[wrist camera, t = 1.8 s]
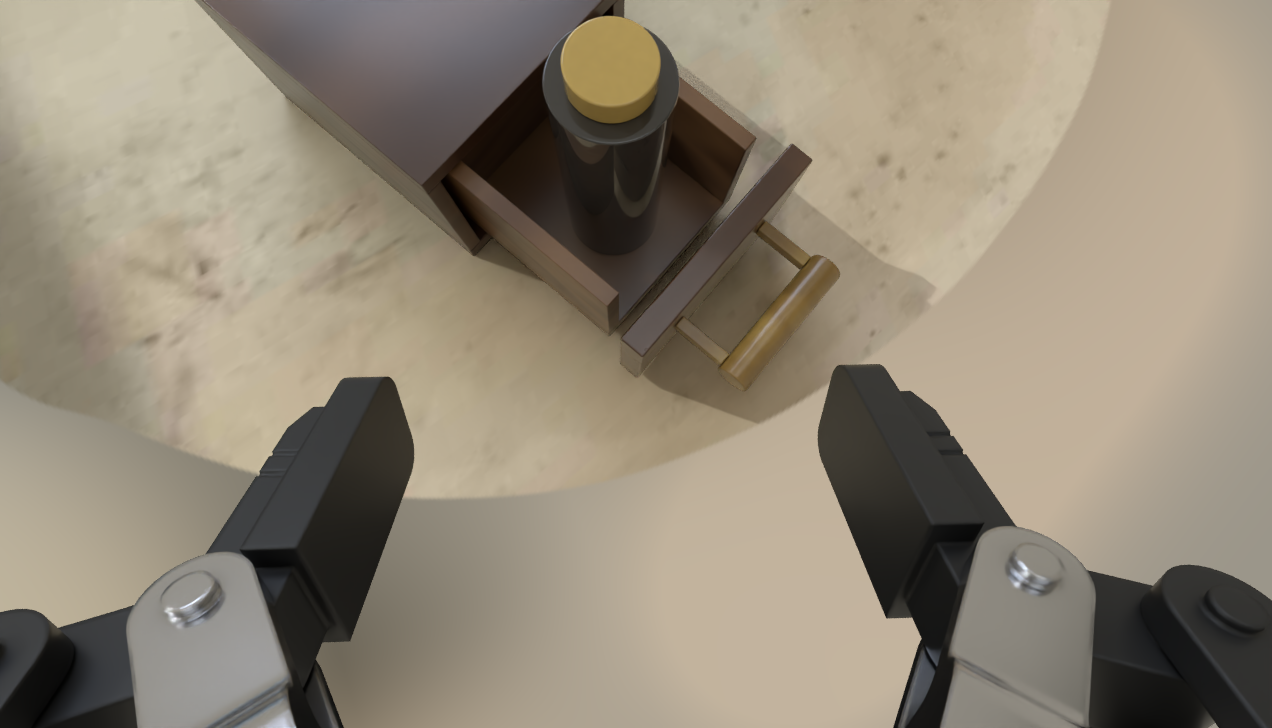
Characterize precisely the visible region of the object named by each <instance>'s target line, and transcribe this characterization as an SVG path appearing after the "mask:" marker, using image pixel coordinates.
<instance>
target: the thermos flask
mask: <svg viewBox="0 0 1272 728" xmlns="http://www.w3.org/2000/svg"><path fill="white" fill-rule="evenodd" d="M542 86H543V93H544V98H545V103H546V108H547V112H548V117H549V122H550V127H551V131H552V136H553V141H554V146H555V150H556V155H557V160H558V165H559V169H560V174H561V179H562V184H563V188H564V193H565V198H566V203H567V207H568V212H569V217H570V222H571V225H572V228H573V230H574V232H575V234H576V236H577V237H578V238H579V240H580V241H581V242H582V243H583V244H584V245H586V246H587V247H588V248H590V249H592V250H594V251H596V252H598V253H601V254H605V255H622V254H626V253H630V252H632V251H634V250H636V249H638V248H639V247H641V246H642V245H643V244H644V243H645V242H646V241H647V240H648V239H649V238H650V237H651V235H652V233H653V232H654V229H655V227H656V223H657V218H658V212H659V206H660V201H661V195H662V189H663V183H664V177H665V171H666V165H667V159H668V153H669V148H670V142H671V136H672V130H673V124H674V118H675V112H676V106H677V100H678V95H679V73H678V68H677V65H676V62H675V60H674V58H673V56H672V54H671V52H670V51H669V49H668V48H667V46H666V45H665V44H664V43H663V42H662V40H660V39H659V38H658V37H657V36H656V35H655V34H653V33H652V32H651V31H649V30H648V29H646V28H644V27H642V26H640V25H639V24H637V23H636V22H634V21H632V20H629V19H626V18H622V17H617V16H603V17H597V18H594V19H591V20H588V21H586V22H584V23H583V24H581V25H580V26H578V27H576V28H574V29H573V30H571V31H570V32H568V33H567V34H566V35H564V36H563V37H562V38H561V39H560V40H559V41H558V42H557V43H556V45H555V46H554V47H553V49H552V50H551V52H550V54H549V56H548V58H547V60H546V63H545V66H544V71H543V78H542Z"/></svg>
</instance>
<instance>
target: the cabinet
mask: <svg viewBox="0 0 1272 728" xmlns="http://www.w3.org/2000/svg"><path fill="white" fill-rule="evenodd" d="M195 1H196V2H197V3H198V4H199V5H200V6H201V7H202V8H203V10H204V11H205V12H206V13H207V14H208V15H209V16H210V17H211V18H212V19H213V20H214V21H215V22H216V23H217V24H218V25H219V27H220V28H221V29H222V30H223V31H224V32H225V33H226V34H227V35H228V36H229V37H230V38H231V39H232V40H233V41H234V42H235V43H236V45H237V46H238V47H239V48H240V49H241V50H242V51H243V52H244V53H245V54H246V55H247V56H248V57H249V58H250V59H251V60H252V61H253V63H254V64H255V65H256V66H257V67H258V68H259V69H260V70H261V71H262V72H263V73H264V74H265V75H266V76H267V77H268V78H269V79H270V81H271V82H272V83H273V84H274V85H275V86H276V87H277V88H278V89H279V90H280V91H281V92H282V93H283V94H284V95H285V96H286V97H287V98H288V99H290V100H291V101H292V102H293V103H294V104H295V105H297V106H298V107H299V108H300V109H301V110H302V111H304V112H305V113H306V114H307V115H308V116H309V117H311V118H312V119H313V120H314V121H315V122H317V123H318V124H319V125H320V126H321V127H322V128H324V129H325V130H326V131H327V132H328V133H329V134H331V135H332V136H333V137H334V138H335V139H337V140H338V141H339V142H340V143H341V144H342V145H344V146H345V147H346V148H347V149H348V150H349V151H351V152H352V153H353V154H354V155H355V156H356V157H358V158H359V159H360V160H361V161H362V162H364V163H365V164H366V165H367V166H368V167H369V168H371V169H372V170H373V171H374V172H375V173H376V174H378V175H379V176H380V177H381V178H382V179H384V180H385V181H386V182H387V183H388V184H389V185H391V186H392V187H393V188H394V189H395V190H396V191H398V192H399V193H400V194H401V195H402V196H404V197H405V198H406V199H407V200H408V201H409V202H411V203H412V204H413V205H414V206H415V207H416V208H418V209H419V210H420V211H421V212H422V213H423V214H425V215H426V216H427V217H428V218H429V219H431V220H432V221H433V222H434V223H435V224H436V225H438V226H439V227H440V228H441V229H442V230H443V231H445V232H446V233H447V234H448V235H449V236H451V237H452V238H453V239H454V240H455V241H456V242H458V243H459V244H460V245H461V246H462V247H463V248H465V249H466V250H467V251H468V252H469V253H470V254H472V255H473V256H475V255H476V254H477V253H478V252H479V251H480V249H481V248H482V247H483V246H484V245H485V244H486V243H487V242H488V241H489V240H490V239H491V238H492V237H491V236H490V235H489V234H488V233H487V232H485V231H484V230H483V229H482V228H481V227H480V226H478V225H477V224H476V223H475V222H474V221H472V220H471V219H470V218H469V217H468V216H467V215H465V214H464V213H463V212H462V211H461V210H459V208H458V207H457V205H456V204H455V202H454V201H453V199H452V198H451V196H450V195H449V193H448V192H447V190H446V189H445V187H444V186H443V184H442V183H441V180H442V179H443V178H444V177H445V176H446V175H447V174H448V173H449V172H450V171H451V170H452V169H453V168H454V166H455V165H456V164H457V163H458V162H459V161H460V160H461V159H462V158H463V157H464V156H465V155H466V154H467V153H468V152H469V151H470V150H471V149H472V148H473V147H474V146H475V145H476V144H477V143H478V142H479V141H480V140H481V139H482V138H483V137H484V136H485V135H486V134H487V133H488V132H489V131H490V130H491V129H492V128H493V127H494V126H495V124H496V123H497V122H498V121H499V120H500V119H501V118H502V117H503V116H504V115H505V114H506V113H507V112H508V111H509V110H510V109H511V108H512V107H513V106H514V105H515V104H516V103H517V102H518V101H519V100H520V99H521V98H522V97H523V96H524V95H525V94H526V93H527V92H528V91H529V90H530V89H531V88H532V87H533V86H534V85H535V84H536V82H537V81H538V80H539V79H540V78H541V77H542V76H543V71H544V66H545V63H546V60H547V58H548V56H549V54H550V52H551V50H552V49H553V47H554V46H555V45H556V43H557V42H558V41H559V40H560V39H561V38H562V37H563V36H564V35H566V34H567V33H568V32H570V31H571V30H573V29H574V28H576V27H578V26H580V25H581V24H583V23H584V22H586V21H588V20H591V19H594V18H597V17H601V16H617V17H622V18H624V0H195Z"/></svg>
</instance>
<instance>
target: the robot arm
mask: <svg viewBox="0 0 1272 728" xmlns="http://www.w3.org/2000/svg"><path fill="white" fill-rule="evenodd" d="M818 447H819V453H820V457H821V460H822V463H823V465H824V468H825V470H826V472H827V475H828V477H829V480H830V482H831V485H832V487H833V490H834V492H835V494H836V497H837V499H838V502H839V504H840V507H841V509H842V511H843V514H844V516H845V519H846V521H847V524H848V526H849V528H850V531H851V533H852V536H853V538H854V541H855V543H856V546H857V548H858V550H859V553H860V555H861V558H862V560H863V563H864V565H865V568H866V570H867V572H868V575H869V577H870V580H871V582H872V585H873V587H874V589H875V592H876V594H877V597H878V599H879V601H880V604H881V606H882V609H883V611H884V614H885V616H886V618H909V617H910V618H911V617H912V618H913V620H914V622H915V624H916V627H917V629H918V631H919V633H920V636H921V638H922V639H921V641H920V644H919V645H918V649H917V652H916V655H915V658H914V662H913V665H912V668H911V672H910V675H909V678H908V681H907V684H906V688H905V691H904V695H903V698H902V701H901V704H900V708H899V711H898V714H897V717H896V721H895V724H894V727H893V728H1208V727H1210V726H1211V725H1213V724H1214V723H1216V724H1217V726H1218V727H1219V728H1272V601H1271V600H1270V599H1269V598H1268V597H1266V596H1265V595H1263V594H1262V593H1261V592H1259V591H1258V590H1256V589H1255V588H1253V587H1251V586H1250V585H1248V584H1246V583H1245V582H1243V581H1241V580H1239V579H1237V578H1235V577H1233V576H1230V575H1228V574H1226V573H1223V572H1220V571H1217V570H1214V569H1211V568H1207V567H1202V566H1195V565H1180V566H1176V567H1173V568H1171V569H1169V570H1168V571H1167V572H1166V573H1165V574H1164V575H1163V576H1162V577H1161V578H1160V579H1159V580H1158V581H1157V582H1156V583H1155V584H1154V586H1151V585H1147V584H1142V583H1138V582H1134V581H1130V580H1126V579H1121V578H1117V577H1113V576H1109V575H1105V574H1100V573H1096V572H1092V571H1088V570H1086V568H1085V567H1084V566H1083V564H1082V563H1081V562H1080V561H1079V560H1078V559H1077V558H1076V557H1075V556H1074V555H1073V554H1072V553H1071V552H1070V551H1068V550H1067V549H1066V548H1064V547H1063V546H1062V545H1060V544H1059V543H1057V542H1056V541H1054V540H1052V539H1050V538H1048V537H1046V536H1044V535H1042V534H1040V533H1038V532H1035V531H1032V530H1029V529H1025V528H1021V527H1017V526H1016V525H1015V524H1014V523H1013V521H1012V520H1011V518H1010V517H1009V515H1008V514H1007V513H1006V511H1005V510H1004V508H1003V507H1002V505H1001V504H1000V502H999V501H998V500H997V498H996V497H995V495H994V494H993V492H992V491H991V489H990V488H989V487H988V485H987V484H986V482H985V481H984V479H983V478H982V476H981V475H980V474H979V472H978V471H977V469H976V468H975V466H974V465H973V463H972V462H971V461H970V459H969V458H968V456H967V455H966V454H965V455H964V454H963V449H962V448H961V446H960V445H959V443H958V442H957V441H956V439H955V438H954V436H951V435H950V430H949V429H948V428H947V426H946V425H945V423H944V422H943V420H942V419H941V417H940V416H939V415H938V413H937V412H936V410H935V409H933V408H932V407H931V406H930V405H928V404H927V403H926V402H924V401H923V400H922V399H920V398H919V397H918V396H916V395H915V394H914V393H913V392H911V391H899V389H898V388H897V386H896V384H895V383H894V381H893V380H892V378H891V377H890V375H889V373H888V372H887V370H886V369H885V368H884V367H883V366H882V365H880V364H869V365H868V364H866V365H838V366H837V367H836V368H835V369H834V371H833V374H832V377H831V381H830V385H829V389H828V393H827V397H826V401H825V404H824V408H823V412H822V416H821V420H820V424H819V429H818ZM272 452H273V455H272V456H269V457H268V459H267V461H266V462H265V464H264V465H263V467H262V468H261V470H260V475H259V476H256V477H255V479H254V481H253V482H252V484H251V485H250V487H249V488H248V490H247V491H246V493H245V495H244V496H243V498H242V499H241V500H240V502H239V504H238V505H237V507H236V508H235V510H234V511H233V513H232V514H231V516H230V518H229V519H228V520H227V522H226V524H225V525H224V527H223V528H222V530H221V531H220V533H219V534H218V536H217V538H216V539H215V541H214V542H213V544H212V545H211V547H210V548H209V550H208V551H207V553H206V554H205V555H202V556H198V557H195V558H193V559H190V560H188V561H186V562H184V563H182V564H180V565H178V566H176V567H174V568H173V569H171V570H170V571H168V572H167V573H165V574H164V575H163V576H161V577H160V578H159V579H157V580H156V581H155V582H154V583H153V584H152V585H151V586H150V587H148V588H147V589H146V590H145V592H144V593H143V594H142V595H141V596H140V597H139V599H138V600H137V602H136V603H135V605H133V606H130V607H127V608H124V609H120V610H117V611H114V612H110V613H107V614H104V615H100V616H97V617H93V618H90V619H87V620H84V621H80V622H77V623H74V624H70V625H66V626H63V627H60V628H57V627H56V626H55V625H54V624H53V623H52V622H51V621H49V620H48V619H47V618H46V617H45V616H44V615H43V614H41V613H39V612H37V611H34V610H29V609H15V610H9V611H4V612H0V728H344V727H343V725H342V722H341V719H340V717H339V714H338V711H337V709H336V706H335V704H334V701H333V698H332V696H331V693H330V691H329V688H328V685H327V682H326V680H325V677H324V675H323V672H322V670H321V667H320V666H319V664H318V662H317V661H316V656H317V654H318V652H319V649H320V647H321V644H322V642H344V641H350V640H351V637H352V634H353V631H354V629H355V626H356V623H357V621H358V618H359V615H360V613H361V610H362V607H363V604H364V601H365V599H366V596H367V593H368V590H369V588H370V585H371V582H372V580H373V577H374V574H375V571H376V569H377V566H378V563H379V560H380V558H381V555H382V552H383V549H384V547H385V544H386V541H387V538H388V536H389V533H390V530H391V528H392V525H393V522H394V519H395V516H396V514H397V511H398V508H399V506H400V503H401V500H402V497H403V495H404V492H405V489H406V486H407V484H408V481H409V478H410V476H411V472H412V469H413V463H414V444H413V439H412V435H411V432H410V429H409V426H408V422H407V419H406V416H405V413H404V410H403V407H402V403H401V400H400V397H399V394H398V391H397V388H396V385H395V383H394V381H393V380H392V379H391V378H390V377H353V378H344V379H342V380H341V381H340V383H339V384H338V386H337V387H336V389H335V391H334V392H333V394H332V396H331V397H330V399H329V401H328V402H327V404H326V406H325V407H313V408H311V409H310V410H309V411H308V412H307V413H305V414H304V415H303V416H302V417H300V418H299V419H298V420H297V421H296V422H294V423H293V424H292V425H291V426H289V427H288V428H287V430H286V431H285V433H284V434H283V436H282V437H281V439H280V441H279V442H278V444H277V445H276V447H275V448H274V450H273V451H272Z"/></svg>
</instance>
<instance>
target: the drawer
mask: <svg viewBox="0 0 1272 728" xmlns="http://www.w3.org/2000/svg"><path fill="white" fill-rule="evenodd" d="M601 17H603V16H601ZM542 78H543V76H542V77H541V78H540V79H539V80H538V81H537V82H536V84H535V85H534V86H533V87H532V88H531V89H530V90H529V91H528V92H527V93H526V94H525V95H524V96H523V97H522V98H521V99H520V100H519V101H518V102H517V103H516V104H515V105H514V106H513V107H512V108H511V109H510V110H509V111H508V112H507V113H506V114H505V115H504V116H503V117H502V118H501V119H500V120H499V121H498V122H497V123H496V124H495V126H494V127H493V128H492V129H491V130H490V131H489V132H488V133H487V134H486V135H485V136H484V137H483V138H482V139H481V140H480V141H479V142H478V143H477V144H476V145H475V146H474V147H473V148H472V149H471V150H470V151H469V152H468V153H467V154H466V155H465V156H464V157H463V158H462V159H461V160H460V161H459V162H458V163H457V164H456V165H455V166H454V168H453V169H452V170H451V171H450V172H449V173H448V174H447V175H446V176H445V177H444V178H443V179H442V180H441V183H442V184H443V186H444V187H445V189H446V190H447V192H448V193H449V195H450V196H451V198H452V199H453V201H454V202H455V204H456V205H457V207H458V208H459V210H461V211H462V212H463V213H464V214H465V215H467V216H468V217H469V218H470V219H471V220H472V221H474V222H475V223H476V224H477V225H478V226H480V227H481V228H482V229H483V230H484V231H485V232H487V233H488V234H489V235H490V236H491V237H493V238H494V239H495V240H496V241H497V242H498V243H500V244H501V245H502V246H503V247H504V248H506V249H507V250H508V251H509V252H510V253H511V254H513V255H514V256H515V257H516V258H517V259H519V260H520V261H521V262H522V263H523V264H524V265H526V266H527V267H528V268H529V269H530V270H532V271H533V272H534V273H535V274H536V275H538V276H539V277H540V278H541V279H542V280H543V281H545V282H546V283H547V284H548V285H549V286H551V287H552V288H553V289H554V290H555V291H556V292H558V293H559V294H560V295H561V296H562V297H564V298H565V299H566V300H567V301H568V302H569V303H571V304H572V305H573V306H574V307H575V308H577V309H578V310H579V311H580V312H581V313H582V314H584V315H585V316H586V317H587V318H588V319H590V320H591V321H592V322H593V323H594V324H595V325H597V326H598V327H599V328H600V329H601V330H603V331H604V332H605V333H606V334H607V335H608V336H610V335H611V334H612V333H613V332H614V331H615V329H616V328H617V327H618V326H619V325H620V324H621V323H622V321H623V320H624V319H625V318H626V317H627V316H628V315H629V313H630V312H631V311H632V310H633V309H634V308H635V307H636V305H637V304H638V303H639V302H640V301H641V300H642V299H643V298H644V296H645V295H646V294H647V293H648V292H649V291H650V290H651V288H652V287H653V286H654V285H655V284H656V283H657V282H658V280H659V279H660V278H661V277H662V276H663V275H664V274H665V272H666V271H667V270H668V269H669V268H670V267H671V266H672V264H673V263H674V262H675V261H676V260H677V259H678V258H679V257H680V255H681V254H682V253H683V252H684V251H685V250H686V249H687V247H688V246H689V245H690V244H691V243H692V242H693V241H694V239H695V238H696V237H697V236H698V235H699V234H700V233H701V231H702V230H703V229H704V228H705V227H706V226H707V225H708V223H709V222H710V221H711V220H712V219H713V218H714V217H715V216H716V214H717V213H718V212H719V211H720V210H721V209H722V208H723V206H724V205H725V204H726V203H727V202H728V201H729V199H730V197H731V195H732V192H733V190H734V188H735V185H736V183H737V181H738V179H739V176H740V174H741V172H742V170H743V167H744V165H745V163H746V161H747V158H748V156H749V154H750V152H751V149H752V147H753V145H754V143H755V140H756V137H755V136H754V135H752V134H751V133H750V132H749V131H747V130H746V129H745V128H744V127H742V126H741V125H740V124H738V123H737V122H736V121H735V120H733V119H732V118H731V117H730V116H728V115H727V114H726V113H725V112H723V111H722V110H721V109H720V108H718V107H717V106H716V105H715V104H713V103H712V102H711V101H709V100H708V99H707V98H706V97H704V96H703V95H702V94H701V93H699V92H698V91H697V90H696V89H694V88H693V87H692V86H691V85H689V84H688V83H687V82H686V81H684V80H683V79H682V78H680V77H679V95H678V100H677V106H676V112H675V118H674V124H673V130H672V136H671V142H670V148H669V153H668V159H667V165H666V171H665V177H664V183H663V189H662V195H661V201H660V206H659V212H658V218H657V223H656V227H655V229H654V232H653V233H652V235H651V237H650V238H649V239H648V240H647V241H646V242H645V243H644V244H643V245H642V246H641V247H639V248H638V249H636V250H634V251H632V252H630V253H626V254H622V255H605V254H601V253H598V252H596V251H594V250H592V249H590V248H588V247H587V246H586V245H584V244H583V243H582V242H581V241H580V240H579V238H578V237H577V236H576V234H575V232H574V230H573V228H572V225H571V222H570V217H569V212H568V207H567V203H566V198H565V193H564V188H563V184H562V179H561V174H560V169H559V165H558V160H557V155H556V150H555V146H554V141H553V136H552V131H551V127H550V122H549V117H548V112H547V108H546V103H545V98H544V93H543V86H542ZM811 162H812V159H811V158H810V157H809V156H807V155H806V154H805V153H804V152H802V151H801V150H800V149H798V148H797V147H796V146H795V145H793V144H790V145H789V147H788V148H787V149H786V150H785V151H784V152H783V153H782V155H781V156H780V157H779V158H778V159H777V160H776V161H775V163H774V164H773V165H772V166H771V167H770V168H769V169H768V171H767V172H766V173H765V174H764V175H763V176H762V177H761V179H760V180H759V181H758V182H757V183H756V184H755V185H754V187H753V188H752V189H751V190H750V191H749V192H748V193H747V195H746V196H745V197H744V198H743V199H742V200H741V201H740V203H739V204H738V205H737V206H736V207H735V208H734V209H733V211H732V212H731V213H730V214H729V215H728V216H727V217H726V219H725V220H724V221H723V222H722V223H721V224H720V225H719V227H718V228H717V229H716V230H715V231H714V232H713V233H712V235H711V236H710V237H709V238H708V239H707V240H706V241H705V243H704V244H703V245H702V246H701V247H700V248H699V249H698V251H697V252H696V253H695V254H694V255H693V256H692V258H691V259H690V260H689V261H688V262H687V263H686V264H685V266H684V267H683V268H682V269H681V270H680V271H679V272H678V274H677V275H676V276H675V277H674V278H673V279H672V280H671V282H670V283H669V284H668V285H667V286H666V287H665V288H664V290H663V291H662V292H661V293H660V294H659V295H658V296H657V298H656V299H655V300H654V301H653V302H652V303H651V304H650V306H649V307H648V308H647V309H646V310H645V311H644V312H643V314H642V315H641V316H640V317H639V318H638V319H637V320H636V322H635V323H634V324H633V325H632V326H631V327H630V328H629V330H628V331H627V332H626V333H625V334H624V335H623V336H622V338H621V357H620V364H621V365H622V366H623V367H625V368H626V369H627V370H628V371H629V372H631V373H632V374H633V375H634V376H635V377H639V375H640V374H641V373H642V372H643V371H644V370H645V368H646V367H647V366H648V365H649V364H650V363H651V361H652V360H653V359H654V358H655V357H656V356H657V354H658V353H659V352H660V351H661V350H662V349H663V348H664V346H665V345H666V344H667V343H668V342H669V341H670V339H671V338H672V337H673V336H674V335H675V334H676V332H677V331H678V332H679V333H680V334H682V335H683V336H684V337H685V338H686V339H688V340H689V341H690V342H691V343H692V344H694V345H695V346H696V347H697V348H698V349H700V350H701V351H702V352H703V353H704V354H706V355H707V356H708V357H709V358H710V359H712V360H713V361H714V362H715V363H716V364H718V365H719V368H718V371H719V373H720V374H721V375H722V377H723V378H724V379H725V380H727V381H728V382H729V383H730V384H731V385H733V386H734V387H736V388H737V389H739V390H742V391H746V390H747V389H748V388H749V387H750V385H751V384H752V383H753V382H754V381H755V379H756V378H757V377H758V376H759V375H760V373H761V372H762V371H763V370H764V368H765V367H766V366H767V365H768V364H769V362H770V361H771V360H772V359H773V357H774V356H775V355H776V354H777V353H778V351H779V350H780V349H781V348H782V347H783V345H784V344H785V343H786V342H787V340H788V339H789V338H790V337H791V336H792V334H793V333H794V332H795V331H796V330H797V328H798V327H799V326H800V325H801V323H802V322H803V321H804V320H805V319H806V317H807V316H808V315H809V314H810V312H811V311H812V310H813V309H814V308H815V306H816V305H817V304H818V303H819V302H820V300H821V299H822V298H823V297H824V295H825V294H826V293H827V292H828V291H829V289H830V288H831V287H832V286H833V285H834V283H835V282H836V281H837V280H838V278H839V277H840V272H839V270H838V268H837V267H836V265H835V264H834V263H833V262H831V261H830V260H829V259H827V258H825V257H823V256H820V255H814V256H812V257H811V258H810V256H809V255H808V254H807V253H805V252H804V251H803V250H802V249H800V248H799V247H798V246H797V245H795V244H794V243H793V242H792V241H791V240H789V239H788V238H787V237H786V236H784V235H783V234H782V233H781V232H779V231H778V230H777V229H776V228H774V227H773V226H772V225H771V224H770V223H771V222H772V220H773V219H774V217H775V216H776V214H777V213H778V211H779V210H780V208H781V207H782V205H783V204H784V202H785V201H786V199H787V198H788V196H789V195H790V193H791V192H792V190H793V189H794V188H795V186H796V185H797V183H798V182H799V180H800V179H801V177H802V176H803V174H804V173H805V171H806V170H807V168H808V167H809V165H810V164H811ZM758 237H760V238H761V239H763V240H764V241H765V242H766V243H768V244H769V245H770V246H771V247H773V248H774V249H775V250H776V251H778V252H779V253H780V254H781V255H783V256H784V257H785V258H786V259H787V260H789V261H790V262H791V263H792V264H794V265H795V266H796V267H797V268H799V269H801V270H800V271H799V272H798V273H797V274H796V276H795V277H794V278H793V279H792V280H791V282H790V283H789V284H788V285H787V286H786V288H785V289H784V290H783V291H782V292H781V294H780V295H779V296H778V297H777V298H776V300H775V301H774V302H773V303H772V304H771V305H770V307H769V308H768V309H767V310H766V311H765V313H764V314H763V315H762V316H761V317H760V319H759V320H758V321H757V322H756V323H755V325H754V326H753V327H752V328H751V329H750V331H749V332H748V333H747V334H746V335H745V337H744V338H743V339H742V340H741V341H740V343H739V344H738V345H737V346H736V347H735V349H734V350H733V351H732V352H731V353H730V355H729V353H727V352H726V351H725V350H724V349H722V348H721V347H720V346H719V345H718V344H716V343H715V342H714V341H713V340H712V339H710V338H709V337H708V336H707V335H706V334H704V333H703V332H702V331H701V330H700V329H698V328H697V327H696V326H695V325H694V324H692V323H691V322H690V321H689V320H688V318H689V317H690V316H691V315H692V314H693V313H694V311H695V310H696V309H697V308H698V307H699V306H700V304H701V303H702V302H703V301H704V300H705V299H706V297H707V296H708V295H709V294H710V293H711V292H712V290H713V289H714V288H715V287H716V286H717V285H718V283H719V282H720V281H721V280H722V279H723V278H724V276H725V275H726V274H727V273H728V272H729V271H730V269H731V268H732V267H733V266H734V265H735V264H736V262H737V261H738V260H739V259H740V258H741V257H742V255H743V254H744V253H745V252H746V251H747V250H748V248H749V247H750V246H751V245H752V244H753V243H754V241H755V240H756V239H757V238H758Z"/></svg>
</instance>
